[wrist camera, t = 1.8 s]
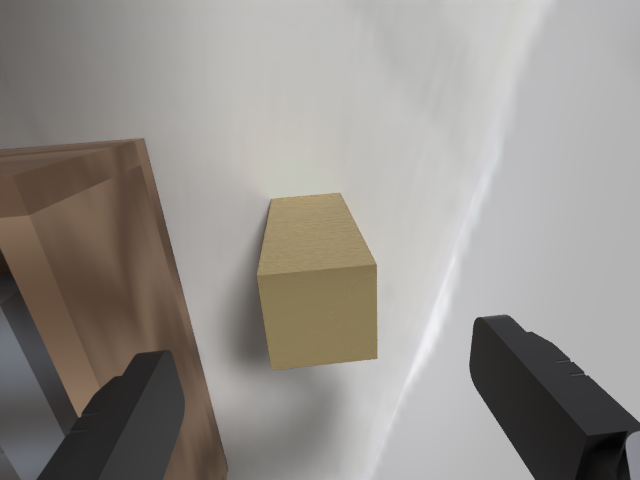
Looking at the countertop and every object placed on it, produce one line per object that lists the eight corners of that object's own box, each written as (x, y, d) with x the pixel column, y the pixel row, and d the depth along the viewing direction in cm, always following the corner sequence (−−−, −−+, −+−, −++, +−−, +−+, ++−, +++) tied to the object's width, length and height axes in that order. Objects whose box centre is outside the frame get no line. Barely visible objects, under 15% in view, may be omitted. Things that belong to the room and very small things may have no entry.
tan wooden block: (271, 198, 17) (256, 275, 10) (340, 192, 17) (376, 263, 10) (279, 260, 18) (271, 370, 11) (343, 254, 19) (377, 358, 11)
